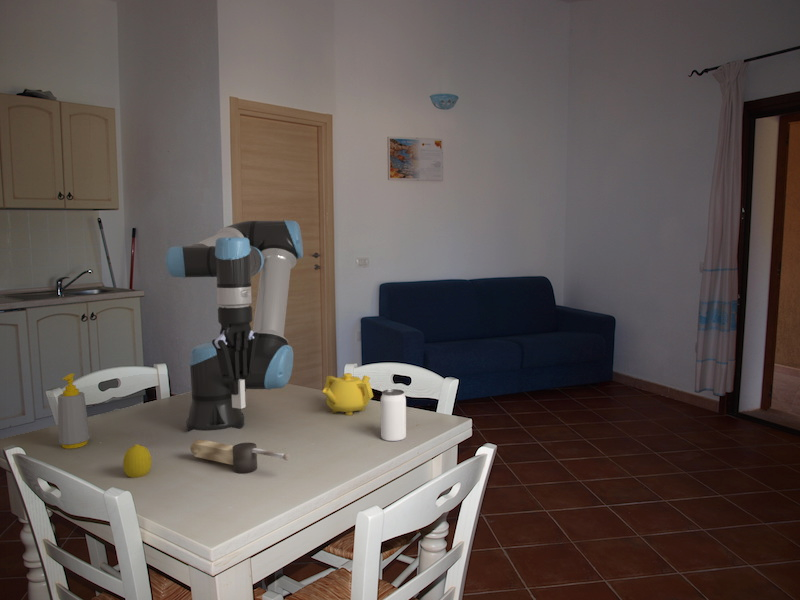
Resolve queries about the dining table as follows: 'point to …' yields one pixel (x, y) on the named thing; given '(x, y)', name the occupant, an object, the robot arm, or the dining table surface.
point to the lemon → (137, 461)
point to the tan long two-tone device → (233, 454)
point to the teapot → (347, 393)
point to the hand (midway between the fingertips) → (238, 407)
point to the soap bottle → (72, 417)
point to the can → (393, 415)
